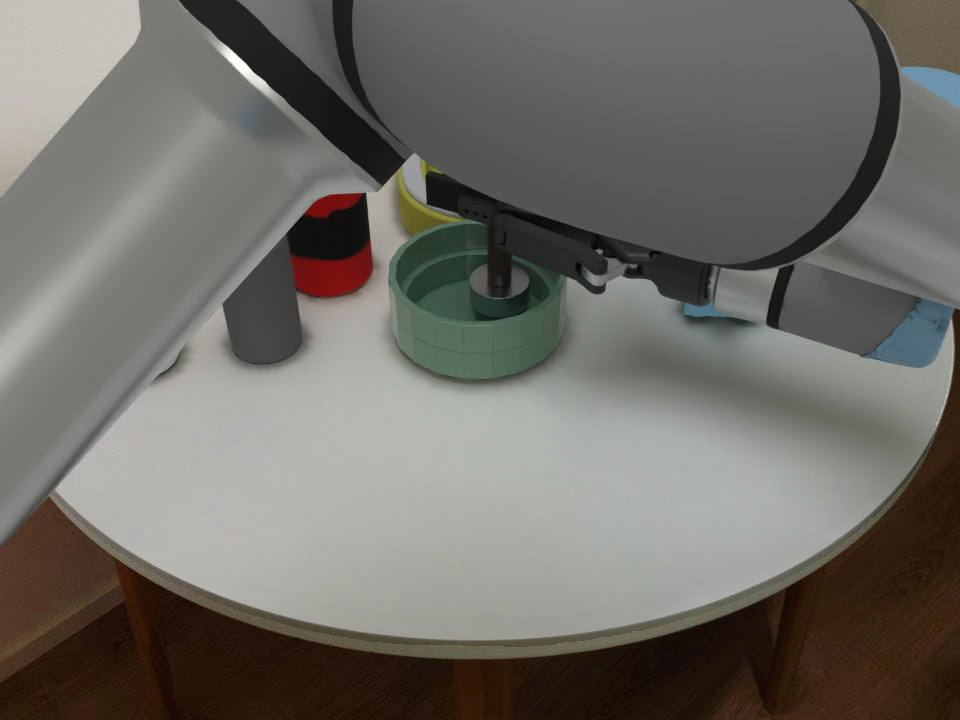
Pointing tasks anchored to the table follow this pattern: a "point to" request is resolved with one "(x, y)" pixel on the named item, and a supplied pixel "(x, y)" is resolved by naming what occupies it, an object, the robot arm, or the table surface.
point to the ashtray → (419, 198)
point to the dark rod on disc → (498, 284)
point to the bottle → (265, 310)
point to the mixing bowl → (468, 307)
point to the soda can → (332, 246)
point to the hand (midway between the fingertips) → (437, 179)
